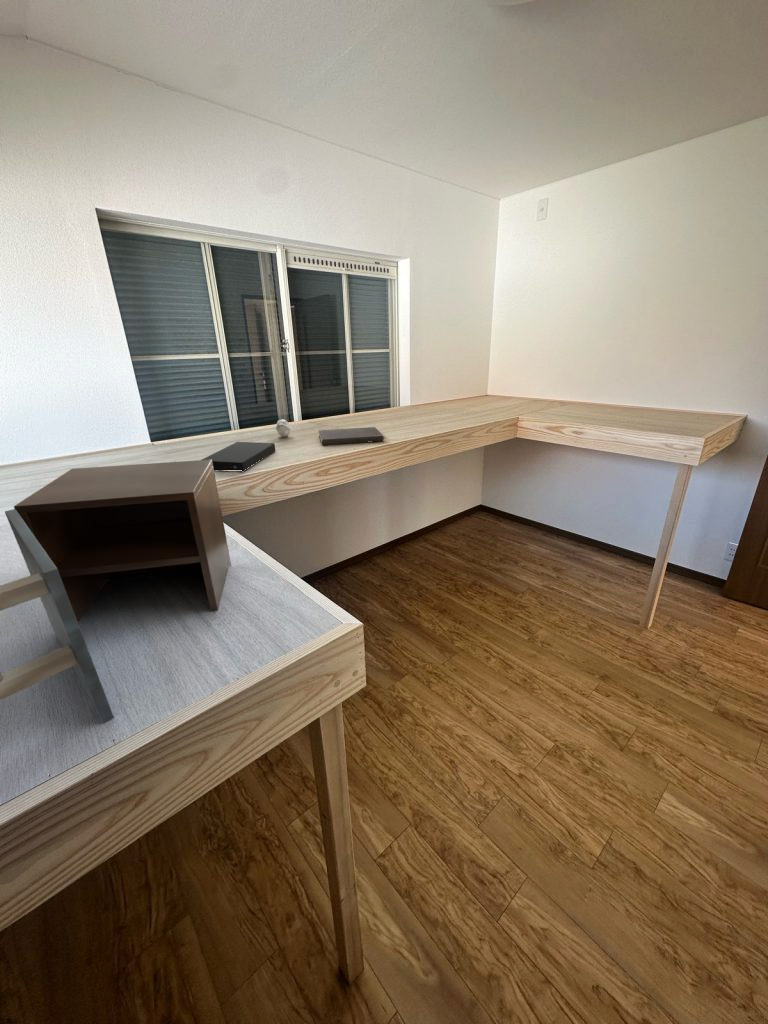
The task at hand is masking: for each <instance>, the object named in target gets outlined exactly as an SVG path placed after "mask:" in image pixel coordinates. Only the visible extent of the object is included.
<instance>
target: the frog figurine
mask: <svg viewBox="0 0 768 1024" xmlns="http://www.w3.org/2000/svg"><path fill="white" fill-rule="evenodd" d="M275 431H276V432H277V434H278V435H279V436H280V437H283V438H285V437H288V436H290V434H291V431H292V426H291V423H290V422H288V420H285V419H284V418H282V419H280V420H277V422H276V424H275Z"/></svg>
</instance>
